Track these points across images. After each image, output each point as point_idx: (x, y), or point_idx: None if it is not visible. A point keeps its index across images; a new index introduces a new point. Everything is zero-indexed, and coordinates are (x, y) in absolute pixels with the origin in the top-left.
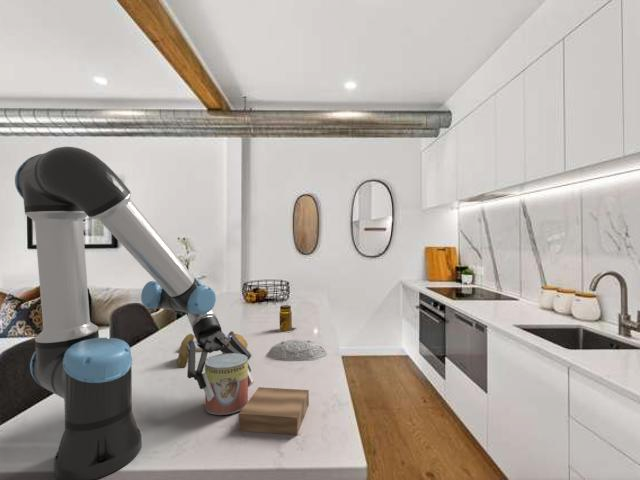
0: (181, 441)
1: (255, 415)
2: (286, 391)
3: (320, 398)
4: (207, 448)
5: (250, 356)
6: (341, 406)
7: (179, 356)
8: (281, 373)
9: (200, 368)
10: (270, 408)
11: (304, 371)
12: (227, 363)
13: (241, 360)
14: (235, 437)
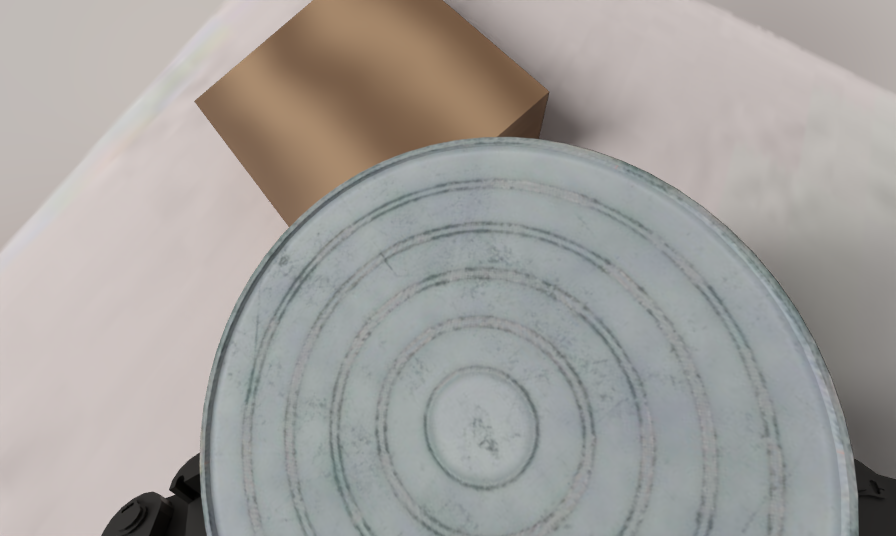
0: (768, 203)
1: (493, 46)
2: (265, 148)
3: (184, 154)
4: (683, 102)
5: (144, 496)
6: (184, 68)
7: None
8: (103, 497)
9: (862, 534)
10: (414, 52)
11: (26, 422)
12: (531, 282)
13: (341, 267)
14: (569, 107)
